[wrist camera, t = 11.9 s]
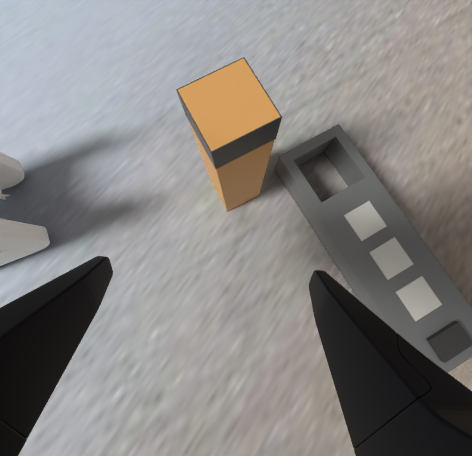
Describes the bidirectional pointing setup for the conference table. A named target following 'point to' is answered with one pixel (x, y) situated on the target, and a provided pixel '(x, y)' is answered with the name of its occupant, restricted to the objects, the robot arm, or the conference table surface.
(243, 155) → the plug
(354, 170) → the power strip
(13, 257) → the cable organizer
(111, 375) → the conference table surface
